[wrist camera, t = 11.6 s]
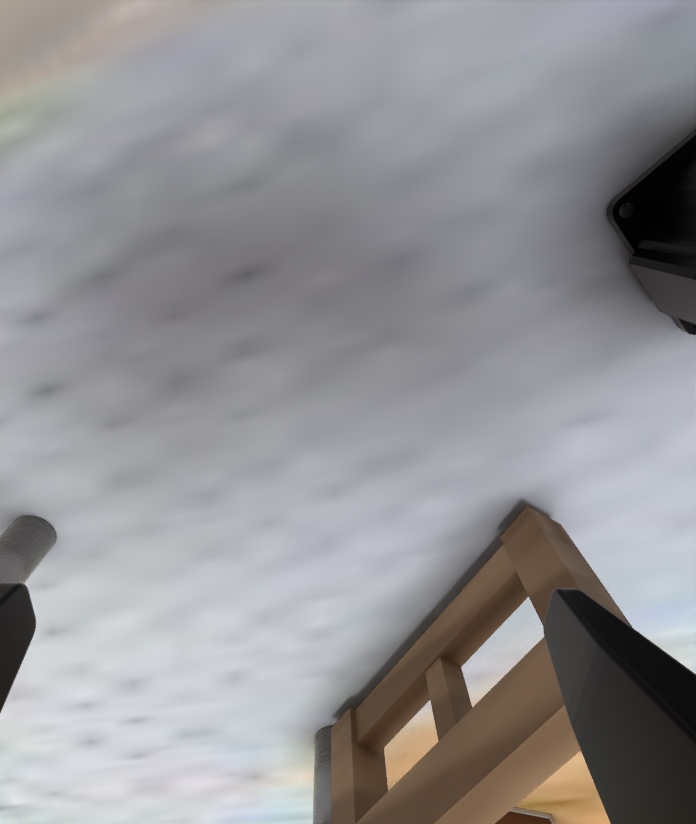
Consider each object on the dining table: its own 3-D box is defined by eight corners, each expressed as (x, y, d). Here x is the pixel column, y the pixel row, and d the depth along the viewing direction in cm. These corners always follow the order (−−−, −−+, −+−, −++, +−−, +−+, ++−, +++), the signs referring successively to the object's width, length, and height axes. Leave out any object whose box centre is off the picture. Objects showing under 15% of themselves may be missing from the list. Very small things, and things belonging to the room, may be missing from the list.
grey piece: (27, 508, 23) (-115, 657, 16) (356, 737, 30) (365, 916, 22) (1, 533, 23) (-148, 690, 16) (331, 753, 30) (332, 933, 23)
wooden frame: (561, 524, 23) (666, 676, 16) (361, 740, 29) (372, 927, 22) (527, 505, 23) (620, 653, 16) (330, 728, 28) (331, 916, 21)
